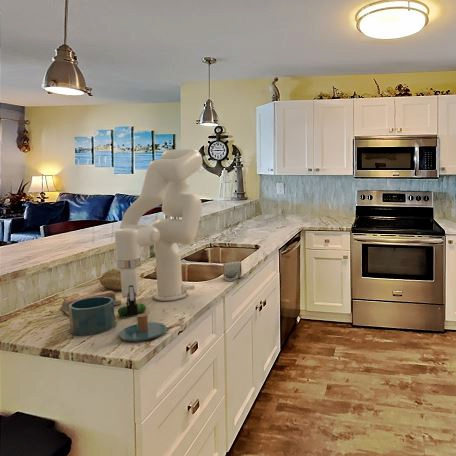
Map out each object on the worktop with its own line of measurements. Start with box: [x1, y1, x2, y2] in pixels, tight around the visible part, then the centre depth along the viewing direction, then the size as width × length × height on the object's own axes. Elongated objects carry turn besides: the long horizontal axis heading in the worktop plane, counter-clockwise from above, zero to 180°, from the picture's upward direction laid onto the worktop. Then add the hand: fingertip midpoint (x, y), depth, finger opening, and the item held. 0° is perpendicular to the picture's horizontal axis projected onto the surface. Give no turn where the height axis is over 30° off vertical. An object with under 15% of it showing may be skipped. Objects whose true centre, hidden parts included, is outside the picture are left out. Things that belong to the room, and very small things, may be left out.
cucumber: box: [117, 303, 147, 317], centre depth 147 cm, size 9×3×3 cm, turn 117°
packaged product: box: [60, 290, 122, 316], centre depth 154 cm, size 18×5×10 cm
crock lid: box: [118, 313, 167, 342], centre depth 129 cm, size 14×14×6 cm
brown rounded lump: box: [99, 268, 122, 290], centre depth 179 cm, size 13×8×20 cm
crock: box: [68, 297, 116, 336], centre depth 134 cm, size 13×13×8 cm
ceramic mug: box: [222, 261, 243, 282], centre depth 193 cm, size 11×8×8 cm
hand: (132, 313), depth 147 cm, fingers closed on cucumber, 3 cm apart
